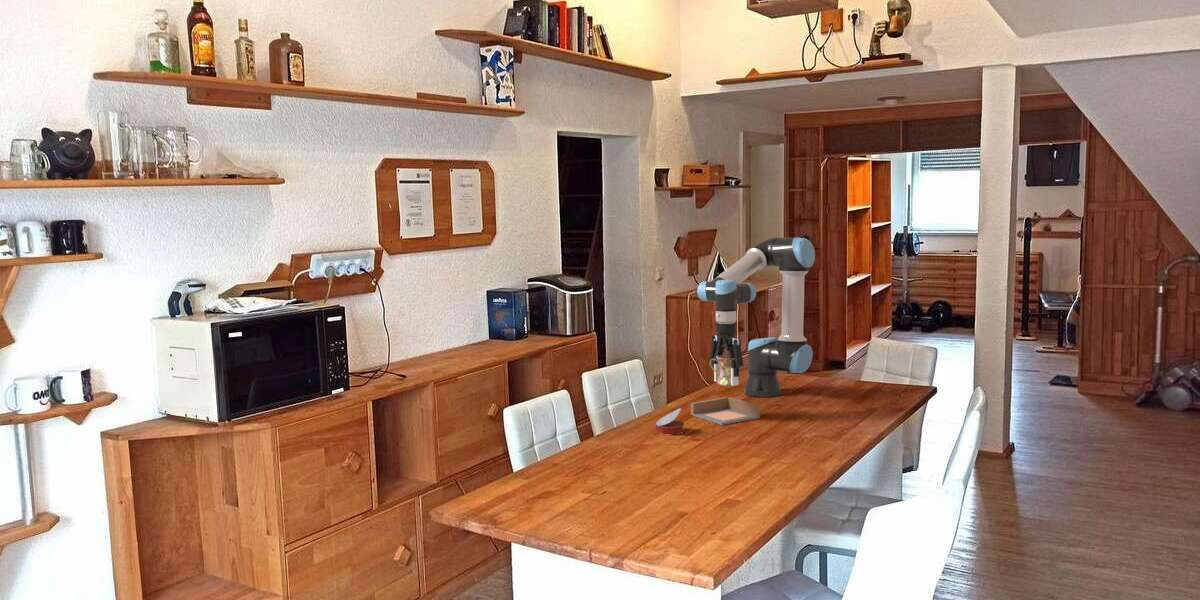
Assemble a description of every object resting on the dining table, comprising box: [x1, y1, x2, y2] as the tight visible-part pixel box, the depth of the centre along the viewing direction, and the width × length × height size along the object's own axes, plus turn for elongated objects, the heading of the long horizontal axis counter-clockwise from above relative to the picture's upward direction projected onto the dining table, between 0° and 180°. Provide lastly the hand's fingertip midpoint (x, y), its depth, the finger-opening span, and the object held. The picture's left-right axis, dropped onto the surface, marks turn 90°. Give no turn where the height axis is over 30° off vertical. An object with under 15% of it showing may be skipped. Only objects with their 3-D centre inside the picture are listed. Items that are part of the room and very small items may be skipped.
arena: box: [690, 396, 761, 426], centre depth 339 cm, size 18×18×5 cm
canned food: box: [655, 407, 685, 435], centre depth 319 cm, size 11×10×10 cm
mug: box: [709, 353, 741, 387], centre depth 335 cm, size 12×9×11 cm
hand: (726, 383), depth 335 cm, fingers closed on mug, 9 cm apart
